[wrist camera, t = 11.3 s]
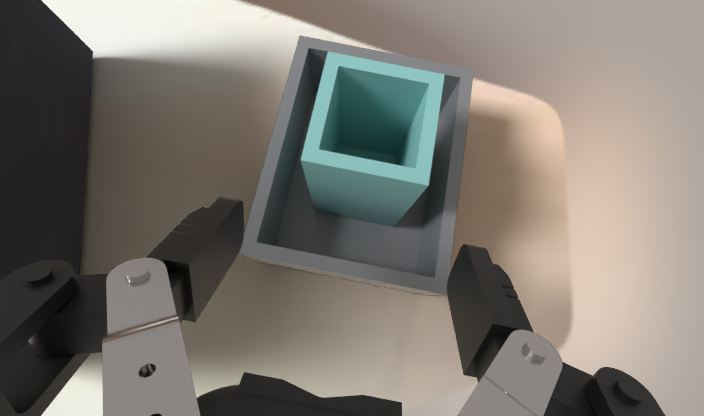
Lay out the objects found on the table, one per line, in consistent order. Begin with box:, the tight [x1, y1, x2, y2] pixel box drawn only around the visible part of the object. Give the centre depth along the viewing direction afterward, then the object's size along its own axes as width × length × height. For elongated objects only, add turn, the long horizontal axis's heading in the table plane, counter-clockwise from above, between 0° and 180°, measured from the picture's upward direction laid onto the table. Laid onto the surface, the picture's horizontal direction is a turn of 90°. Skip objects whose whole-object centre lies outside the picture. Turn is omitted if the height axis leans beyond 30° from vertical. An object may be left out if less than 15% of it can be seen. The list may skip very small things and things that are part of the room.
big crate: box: [239, 36, 474, 295], centre depth 24 cm, size 15×12×6 cm
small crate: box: [301, 52, 445, 227], centre depth 21 cm, size 6×6×10 cm
